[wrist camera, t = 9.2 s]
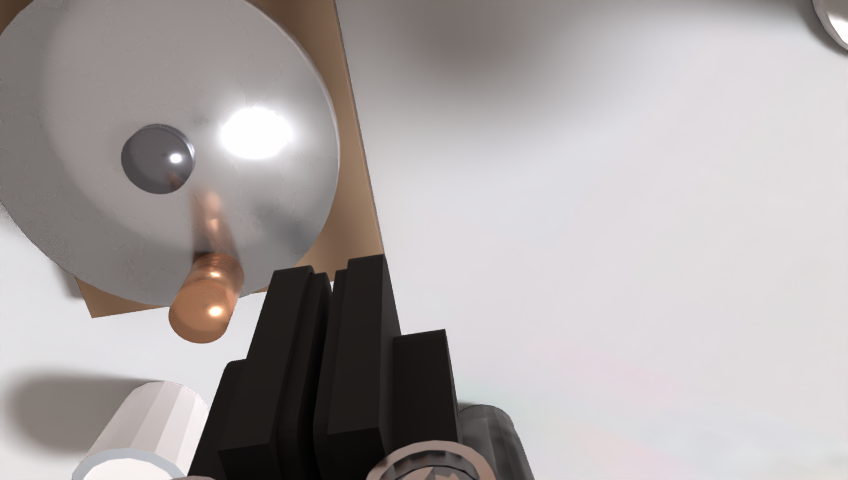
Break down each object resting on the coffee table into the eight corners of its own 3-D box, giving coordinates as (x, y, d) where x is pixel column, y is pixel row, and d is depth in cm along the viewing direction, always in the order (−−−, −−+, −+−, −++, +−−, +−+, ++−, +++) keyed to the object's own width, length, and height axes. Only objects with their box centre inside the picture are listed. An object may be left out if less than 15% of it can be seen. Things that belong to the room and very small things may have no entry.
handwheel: (-78, 27, 32) (-163, 51, 27) (269, -83, 31) (245, -78, 26) (92, 326, 39) (49, 389, 34) (382, 247, 37) (381, 300, 32)
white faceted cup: (168, 473, 50) (135, 558, 43) (89, 411, 47) (42, 491, 41) (242, 421, 48) (219, 501, 42) (164, 354, 45) (127, 428, 39)
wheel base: (311, -116, 35) (300, -117, 30) (385, 257, 43) (384, 296, 39) (-37, -57, 35) (-97, -50, 31) (104, 300, 44) (73, 344, 39)
